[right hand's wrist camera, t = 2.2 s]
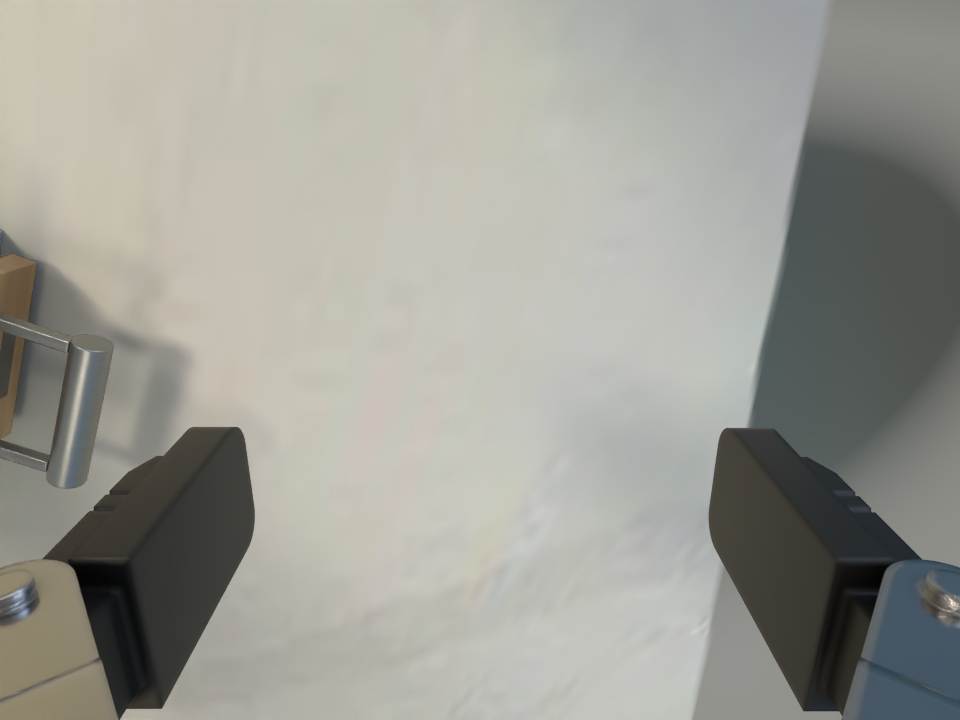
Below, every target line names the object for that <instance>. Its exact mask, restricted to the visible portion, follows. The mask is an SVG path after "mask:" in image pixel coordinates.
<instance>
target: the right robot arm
mask: <svg viewBox="0 0 960 720" xmlns="http://www.w3.org/2000/svg"><path fill="white" fill-rule="evenodd" d="M254 521H255V510H254V502H253V495H252V487H251V480H250V473H249V466H248V459H247V451H246V444H245V439H244V435H243V433H242V431H241V430H240V429H239V428H238V427H192V428H190V429H188V430H187V431H186V432H185V433H184V435H183V436H182V437H181V438H180V439H179V440H178V441H177V442H176V443H175V444H174V445H173V446H172V447H171V448H170V450H169V451H168V452H167V453H166V454H165V455H164V456H156V457H154V458H153V459H151V460H149V461H147V462H145V463H144V464H142V465H140V466H138V467H137V468H135V469H133V470H131V471H129V472H128V473H127V474H126V475H125V476H124V477H123V478H122V479H121V480H120V481H119V482H118V483H117V484H116V485H115V486H114V487H113V488H112V489H111V490H110V494H109V495H105V496H104V497H103V498H102V499H101V500H100V501H99V502H98V503H97V504H96V505H95V506H94V511H89V512H88V513H87V514H86V515H85V516H84V517H83V518H82V519H81V520H80V521H79V522H78V524H77V525H76V526H75V527H74V528H73V529H72V530H71V531H70V532H69V533H68V534H67V535H66V536H65V537H64V538H63V539H62V540H61V541H60V542H59V543H58V544H57V545H56V546H55V547H54V548H53V549H52V550H51V551H50V552H49V553H48V554H47V555H46V556H45V557H44V558H43V559H42V560H31V561H24V562H19V563H14V564H11V565H7V566H4V567H1V568H0V720H120V718H121V717H122V715H123V713H124V712H125V710H126V709H162V707H163V706H164V704H165V702H166V700H167V698H168V696H169V694H170V692H171V691H172V689H173V687H174V685H175V683H176V681H177V679H178V678H179V676H180V674H181V672H182V670H183V668H184V666H185V665H186V663H187V661H188V659H189V657H190V655H191V653H192V652H193V650H194V648H195V646H196V644H197V642H198V640H199V639H200V637H201V635H202V633H203V631H204V629H205V627H206V625H207V624H208V622H209V620H210V618H211V616H212V614H213V612H214V611H215V609H216V607H217V605H218V603H219V601H220V599H221V598H222V596H223V594H224V592H225V590H226V588H227V586H228V585H229V583H230V581H231V579H232V577H233V575H234V573H235V571H236V570H237V568H238V566H239V564H240V562H241V560H242V558H243V557H244V555H245V553H246V551H247V549H248V547H249V545H250V542H251V539H252V535H253V530H254ZM709 528H710V534H711V539H712V542H713V545H714V547H715V549H716V551H717V553H718V555H719V557H720V559H721V560H722V562H723V564H724V566H725V568H726V570H727V571H728V573H729V575H730V577H731V579H732V581H733V583H734V584H735V586H736V588H737V590H738V592H739V593H740V595H741V597H742V599H743V601H744V603H745V605H746V606H747V608H748V610H749V612H750V614H751V616H752V617H753V619H754V621H755V623H756V625H757V627H758V628H759V630H760V632H761V634H762V636H763V638H764V639H765V641H766V643H767V645H768V647H769V649H770V651H771V652H772V654H773V656H774V658H775V660H776V662H777V663H778V665H779V667H780V669H781V671H782V673H783V674H784V676H785V678H786V680H787V682H788V684H789V685H790V687H791V689H792V691H793V693H794V695H795V696H796V698H797V700H798V702H799V704H800V706H801V708H802V709H803V711H840V713H841V715H842V720H960V568H959V567H956V566H953V565H949V564H946V563H941V562H936V561H929V560H922V559H921V558H920V557H919V556H918V555H917V554H916V553H915V552H914V551H913V550H912V549H911V548H910V547H909V546H908V545H907V544H906V543H905V542H904V541H903V540H902V539H901V538H900V537H899V536H898V535H897V534H896V533H895V532H894V531H893V530H892V529H891V528H890V527H889V526H888V525H887V524H886V523H885V522H884V521H883V520H882V519H881V518H880V517H879V516H878V515H877V514H876V513H872V512H871V508H870V507H869V506H868V505H867V504H866V503H865V502H864V501H863V500H862V499H861V498H860V497H859V496H855V492H854V491H853V490H852V489H851V488H850V487H849V486H848V485H847V484H846V483H845V482H844V481H843V480H842V479H841V478H840V477H839V476H838V475H837V474H836V473H835V472H833V471H831V470H829V469H827V468H826V467H824V466H822V465H820V464H818V463H817V462H815V461H813V460H811V459H809V458H808V457H800V456H799V455H798V454H797V453H796V451H795V450H794V449H793V448H792V447H791V446H790V445H789V444H788V443H787V442H786V441H785V440H784V439H783V438H782V437H781V436H780V434H779V433H778V432H777V431H776V430H774V429H772V428H726V429H724V430H723V432H722V433H721V435H720V439H719V443H718V449H717V457H716V464H715V471H714V478H713V485H712V492H711V499H710V506H709Z"/></svg>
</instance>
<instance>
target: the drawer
mask: <svg viewBox="0 0 960 720" xmlns="http://www.w3.org/2000/svg"><path fill="white" fill-rule="evenodd" d="M36 265H37V263H36V262H34V261H31V260H28V259H25V258H23V257H20V256H17V255H14V254H11V255H7V256H4V257H0V458H2V459H6V460H9V461H12V462H15V463H18V464H22V465H25V466H28V467H31V468H35V469H38V470H41V471H44V472H46V471H47V476H46V479H47V481H48V482H49V483H50V484H51V485H53V486H55V487H58V488H64V489H70V488H76V487H79V486H81V485H83V484H84V483H85V482H86V480H87V476H88V472H89V467H90V462H91V457H92V452H93V447H94V442H95V437H96V432H97V428H98V423H99V418H100V413H101V408H102V403H103V398H104V393H105V388H106V384H107V379H108V374H109V369H110V364H111V359H112V354H113V349H114V345H113V343H112V342H111V341H110V340H108V339H106V338H104V337H100V336H96V335H87V334H85V335H77V336H75V337H71V336H68V335H65V334H62V333H59V332H56V331H53V330H50V329H47V328H44V327H41V326H38V325H35V324H32V323H29V322H28V317H29V310H30V304H31V297H32V291H33V284H34V278H35V271H36ZM25 339H26V340H29V341H32V342H35V343H38V344H41V345H44V346H47V347H50V348H53V349H56V350H59V351H62V352H65V353H68V352H69V353H68V359H67V365H66V370H65V376H64V381H63V387H62V392H61V398H60V404H59V409H58V415H57V420H56V426H55V431H54V437H53V442H52V448H51V454H50V455H47V454H44V453H41V452H38V451H34V450H31V449H28V448H25V447H22V446H19V445H15V444H12V443H9V442H6V441H3V440H1V439H2V438H3V437H5V436H6V435H8V434H9V433H11V427H12V420H13V414H14V407H15V401H16V394H17V388H18V381H19V375H20V368H21V362H22V355H23V349H24V342H25Z"/></svg>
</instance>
